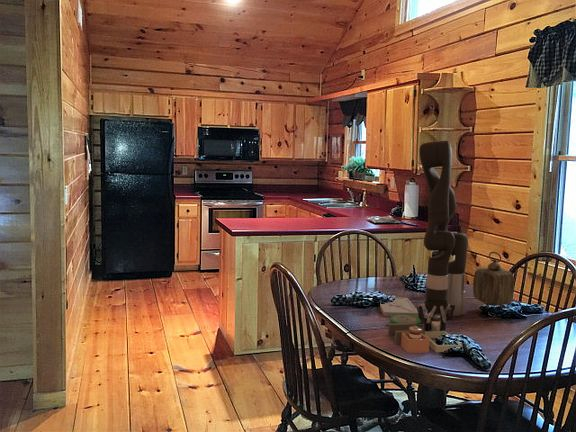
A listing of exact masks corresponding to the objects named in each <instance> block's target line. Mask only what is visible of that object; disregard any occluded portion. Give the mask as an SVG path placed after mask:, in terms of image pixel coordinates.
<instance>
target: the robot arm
mask: <svg viewBox="0 0 576 432" xmlns="http://www.w3.org/2000/svg"><path fill="white" fill-rule="evenodd" d="M418 150H419V152H418V153H419V159H420V162H421V167H422V170H423V175H424V177H425V180H426V184H427V189H428V195H429V199H428V207H427V209H428V221H427V227H426V231H425V235H424V237H423V244H424V247H425V249H426V250H428V251H432V252H434V251H440V252H441V254H440V255H438V256H434V257H432V256H431V257H429V258H428V260H427V272H426V279H425V280H426V282H425V300H424V302H423V303H422V304H419V303H417V304H416V310H417V311H418V315H419V317H418V318H419V319H420V322H423V330H424V331H425V332H426V331H430V323H429V322H430V319H431V318H432V316H433V315H435V314H438V315H441V328H440V331H445V332H446V330H447V329H446V327H447V322H450V321H452V319H453V317H458V316H462V315H465V313H466V312H465V311H466V309H465V308H466V294H467V293H466V291H465V276H466V275H465V272H466V267H467V255H468V249H469V248H468V245H469V239H468V235H467V234H466V233H462V232H455V231H454V232H453V231H449V229H448V224H449V223H450V221H451V219H452V218H453V216H454V214H455V213H456V211H457V207H458V206H457V201H456V195H455V191H454V189H453V188H452V187H451V179H452V178H451V177H452V169H453V167H452V166H453V165H452V164H453V149H452V145H451V143H450V141H448V140H439V141H437V140H436V141H431V142H430V141H429V142H423V143H422V144H421V145H420V146H419V149H418ZM435 168H441V173H440V175H439V174H438V173H437V171H436V169H435ZM451 256H455V258H454V260H451V261H450V259H451ZM425 309H426V312H425V313H424V310H425Z"/></svg>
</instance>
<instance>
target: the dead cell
mask: <svg viewBox="0 0 576 432" xmlns="http://www.w3.org/2000/svg"><path fill="white" fill-rule="evenodd" d="M422 330H423V329H422V327H421V326H420V327H418V326H412V327H409V339H421V336H422Z"/></svg>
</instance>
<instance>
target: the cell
mask: <svg viewBox="0 0 576 432" xmlns="http://www.w3.org/2000/svg"><path fill="white" fill-rule="evenodd" d="M429 323H430V331H440V328H441V315H439V314H435V315H433V316H432V318H431V319H430V322H429Z"/></svg>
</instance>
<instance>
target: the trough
mask: <svg viewBox="0 0 576 432" xmlns="http://www.w3.org/2000/svg"><path fill="white" fill-rule="evenodd" d="M443 334H444V335H448V336H449V337H450V336H451V335H450V334H449V333H448V332H447V331H446V330H445V331H425V336H426V337H427V338H429V348H431V349H432V350H433V351H435V353H445V352H444V351H446V350H448V349H450V348H454V347H462V348H463V344H461V343H460V342H459V341H458V340H457V341H455V340H456V339H455V340H454V341H455V342H456V343H457V344H458V345H452V344H437V343H436V342H435V341H434V340H433V338H436V339H437V337H439V336H441V335H443Z"/></svg>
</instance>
